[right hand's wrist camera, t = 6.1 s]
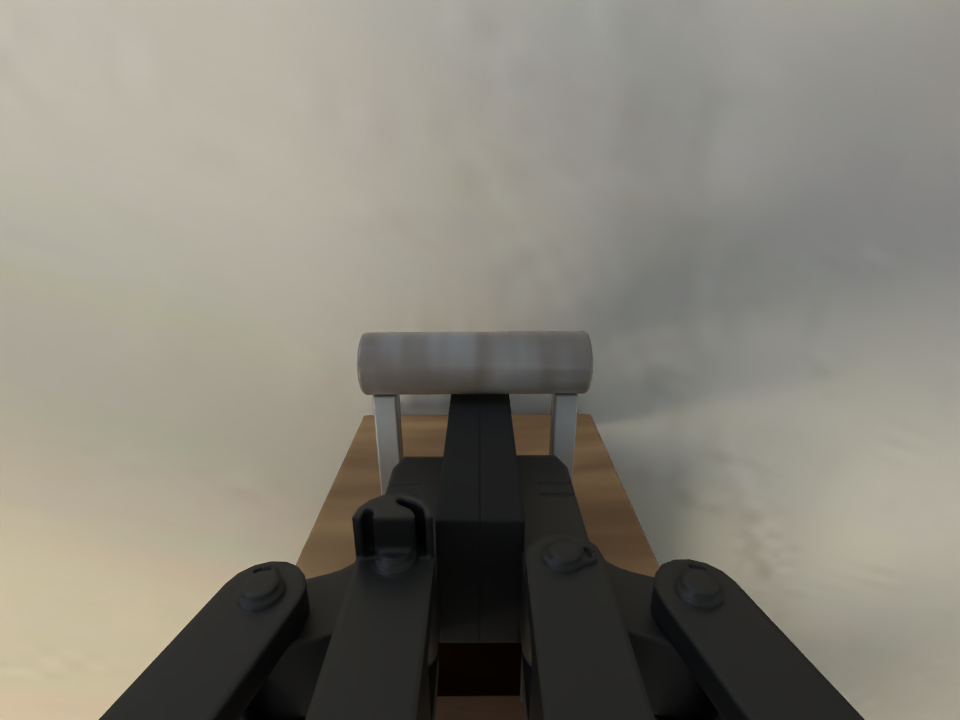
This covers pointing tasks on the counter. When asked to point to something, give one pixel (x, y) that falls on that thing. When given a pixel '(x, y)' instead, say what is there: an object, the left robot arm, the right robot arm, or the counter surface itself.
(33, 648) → the counter surface
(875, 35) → the counter surface
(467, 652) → the drawer
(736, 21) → the counter surface
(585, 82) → the counter surface
